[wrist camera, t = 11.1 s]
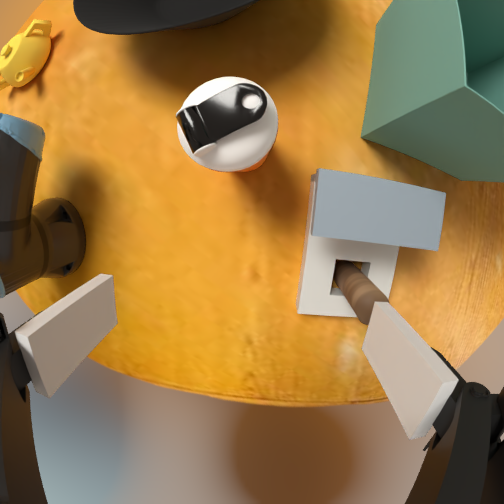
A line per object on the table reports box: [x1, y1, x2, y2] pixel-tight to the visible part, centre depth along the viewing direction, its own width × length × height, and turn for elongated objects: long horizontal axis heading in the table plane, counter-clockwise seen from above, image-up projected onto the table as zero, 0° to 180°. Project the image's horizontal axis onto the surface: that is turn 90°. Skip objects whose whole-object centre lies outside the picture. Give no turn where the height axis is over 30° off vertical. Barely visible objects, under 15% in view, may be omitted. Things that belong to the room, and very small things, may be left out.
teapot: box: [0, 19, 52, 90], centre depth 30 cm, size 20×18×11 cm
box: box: [361, 0, 504, 182], centre depth 22 cm, size 23×21×26 cm
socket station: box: [296, 168, 446, 317], centre depth 35 cm, size 16×20×12 cm
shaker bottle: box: [176, 77, 278, 172], centre depth 29 cm, size 9×9×20 cm
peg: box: [333, 260, 389, 325], centre depth 35 cm, size 4×4×14 cm
